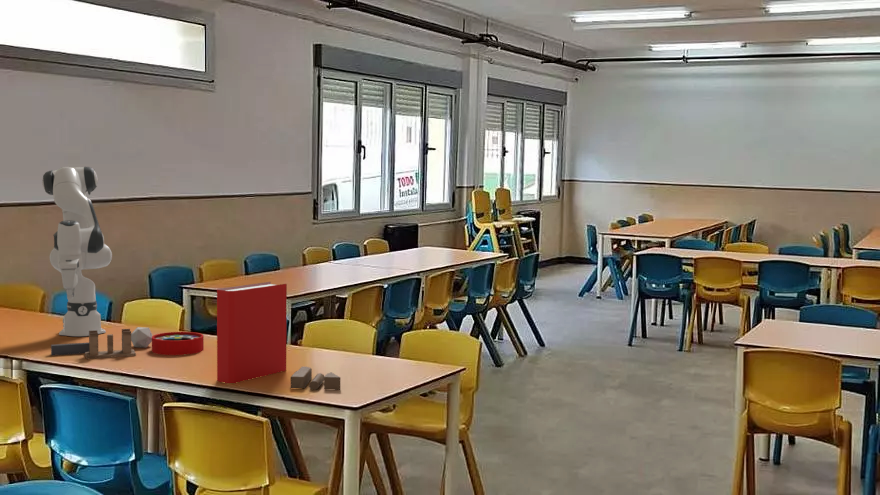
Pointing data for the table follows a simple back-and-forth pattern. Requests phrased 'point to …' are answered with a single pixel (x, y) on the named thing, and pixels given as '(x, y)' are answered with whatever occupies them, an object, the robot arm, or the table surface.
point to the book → (251, 331)
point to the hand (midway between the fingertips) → (71, 298)
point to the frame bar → (69, 348)
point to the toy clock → (177, 343)
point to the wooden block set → (314, 379)
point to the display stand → (110, 346)
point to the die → (141, 337)
